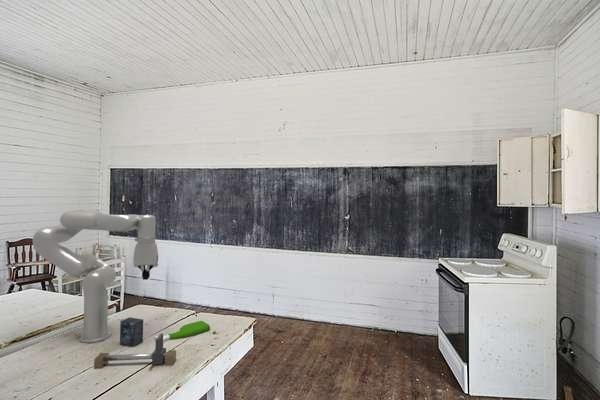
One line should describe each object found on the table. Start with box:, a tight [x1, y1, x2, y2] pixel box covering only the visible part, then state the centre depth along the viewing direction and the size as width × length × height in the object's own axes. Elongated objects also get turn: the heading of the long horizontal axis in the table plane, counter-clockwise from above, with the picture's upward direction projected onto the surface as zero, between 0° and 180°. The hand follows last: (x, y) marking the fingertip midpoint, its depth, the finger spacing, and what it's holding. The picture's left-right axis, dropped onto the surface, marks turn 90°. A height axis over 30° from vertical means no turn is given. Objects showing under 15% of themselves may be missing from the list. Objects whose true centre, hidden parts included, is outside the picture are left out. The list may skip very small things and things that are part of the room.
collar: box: [151, 332, 167, 366], centre depth 129 cm, size 4×6×10 cm, turn 7°
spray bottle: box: [154, 320, 211, 343], centre depth 157 cm, size 3×11×24 cm
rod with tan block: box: [93, 349, 177, 372], centre depth 128 cm, size 29×12×4 cm, turn 97°
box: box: [119, 317, 144, 348], centre depth 146 cm, size 8×6×11 cm
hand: (145, 279), depth 154 cm, fingers closed
